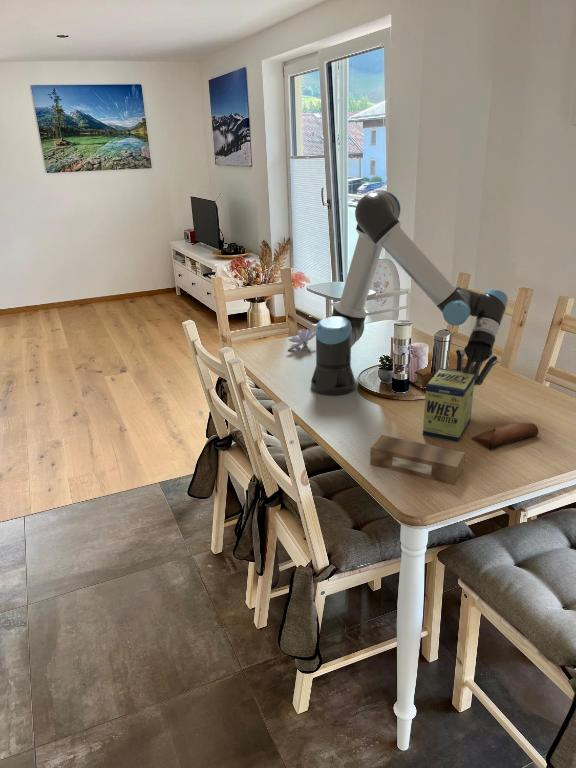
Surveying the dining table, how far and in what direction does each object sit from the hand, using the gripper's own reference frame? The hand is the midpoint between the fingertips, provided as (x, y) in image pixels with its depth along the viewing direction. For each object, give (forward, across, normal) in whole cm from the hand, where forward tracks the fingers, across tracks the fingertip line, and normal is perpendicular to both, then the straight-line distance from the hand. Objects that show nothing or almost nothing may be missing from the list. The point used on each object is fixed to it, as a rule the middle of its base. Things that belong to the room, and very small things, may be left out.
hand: (461, 402), depth 178 cm
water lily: (-17, -75, +23) cm, 80 cm away
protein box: (+11, 0, -5) cm, 12 cm away
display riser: (+29, +1, -23) cm, 37 cm away
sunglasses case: (+9, +16, -3) cm, 18 cm away
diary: (-16, -18, +23) cm, 34 cm away
